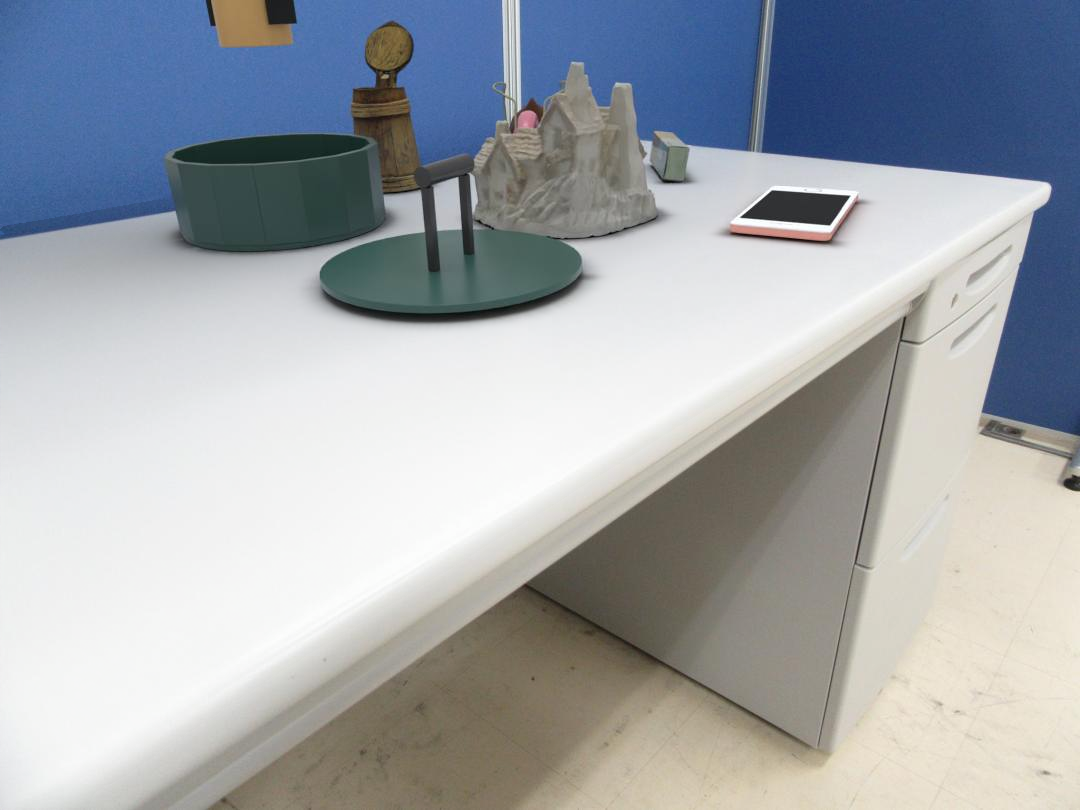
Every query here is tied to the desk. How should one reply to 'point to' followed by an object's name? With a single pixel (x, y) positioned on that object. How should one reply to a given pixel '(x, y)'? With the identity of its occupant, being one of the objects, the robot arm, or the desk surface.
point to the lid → (450, 260)
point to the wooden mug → (388, 107)
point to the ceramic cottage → (567, 168)
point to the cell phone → (796, 213)
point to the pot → (276, 190)
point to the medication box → (669, 156)
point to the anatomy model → (525, 111)
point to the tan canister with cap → (248, 25)
